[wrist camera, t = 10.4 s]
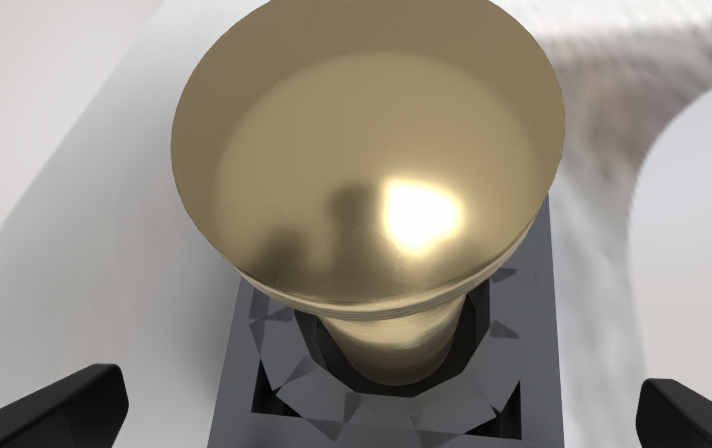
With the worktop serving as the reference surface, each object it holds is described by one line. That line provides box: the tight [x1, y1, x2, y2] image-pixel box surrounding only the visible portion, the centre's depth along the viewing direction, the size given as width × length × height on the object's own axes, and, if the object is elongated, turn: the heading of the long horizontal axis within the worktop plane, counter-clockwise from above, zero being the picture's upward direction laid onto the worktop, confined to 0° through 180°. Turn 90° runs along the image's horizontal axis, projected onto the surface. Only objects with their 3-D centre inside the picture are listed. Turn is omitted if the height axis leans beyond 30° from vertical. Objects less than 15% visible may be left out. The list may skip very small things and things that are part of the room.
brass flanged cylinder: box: [171, 0, 565, 386], centre depth 12 cm, size 5×5×12 cm
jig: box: [207, 193, 564, 448], centre depth 16 cm, size 9×9×4 cm
